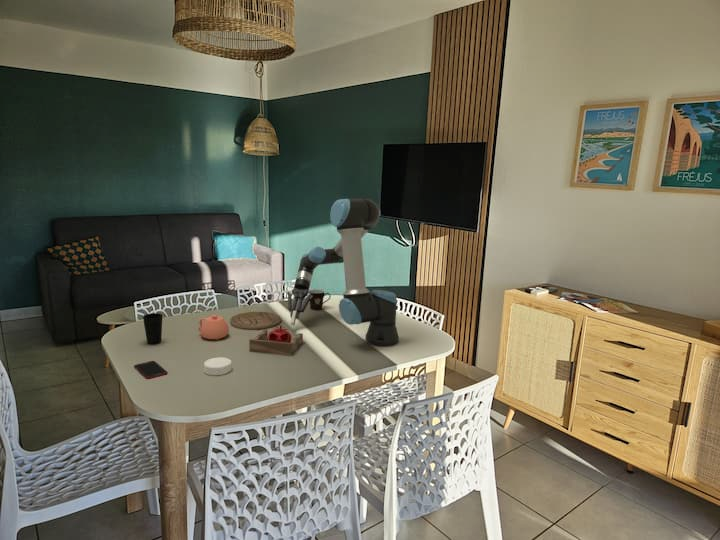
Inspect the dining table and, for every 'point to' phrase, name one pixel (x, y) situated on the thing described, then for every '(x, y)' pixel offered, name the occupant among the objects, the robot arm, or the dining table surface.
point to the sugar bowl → (213, 327)
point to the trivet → (255, 320)
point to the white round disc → (217, 366)
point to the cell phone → (150, 370)
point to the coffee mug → (317, 299)
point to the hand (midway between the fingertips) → (292, 323)
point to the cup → (153, 328)
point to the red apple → (279, 335)
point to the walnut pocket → (274, 345)
